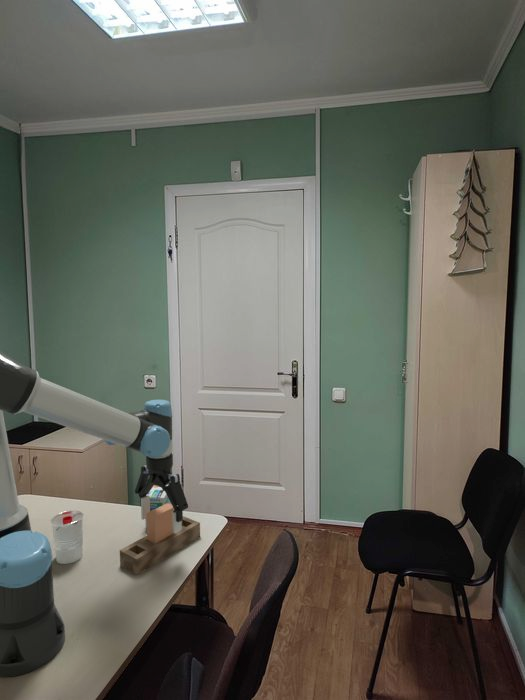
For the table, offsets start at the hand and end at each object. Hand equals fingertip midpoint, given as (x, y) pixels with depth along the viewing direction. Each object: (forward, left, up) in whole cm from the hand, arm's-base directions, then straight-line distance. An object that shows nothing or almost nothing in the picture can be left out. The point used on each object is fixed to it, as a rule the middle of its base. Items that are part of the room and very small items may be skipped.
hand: (161, 524), depth 131 cm
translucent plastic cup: (-18, +19, -8) cm, 27 cm away
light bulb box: (+11, +14, -8) cm, 20 cm away
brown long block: (0, 0, -8) cm, 8 cm away
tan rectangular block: (0, 0, -8) cm, 8 cm away
